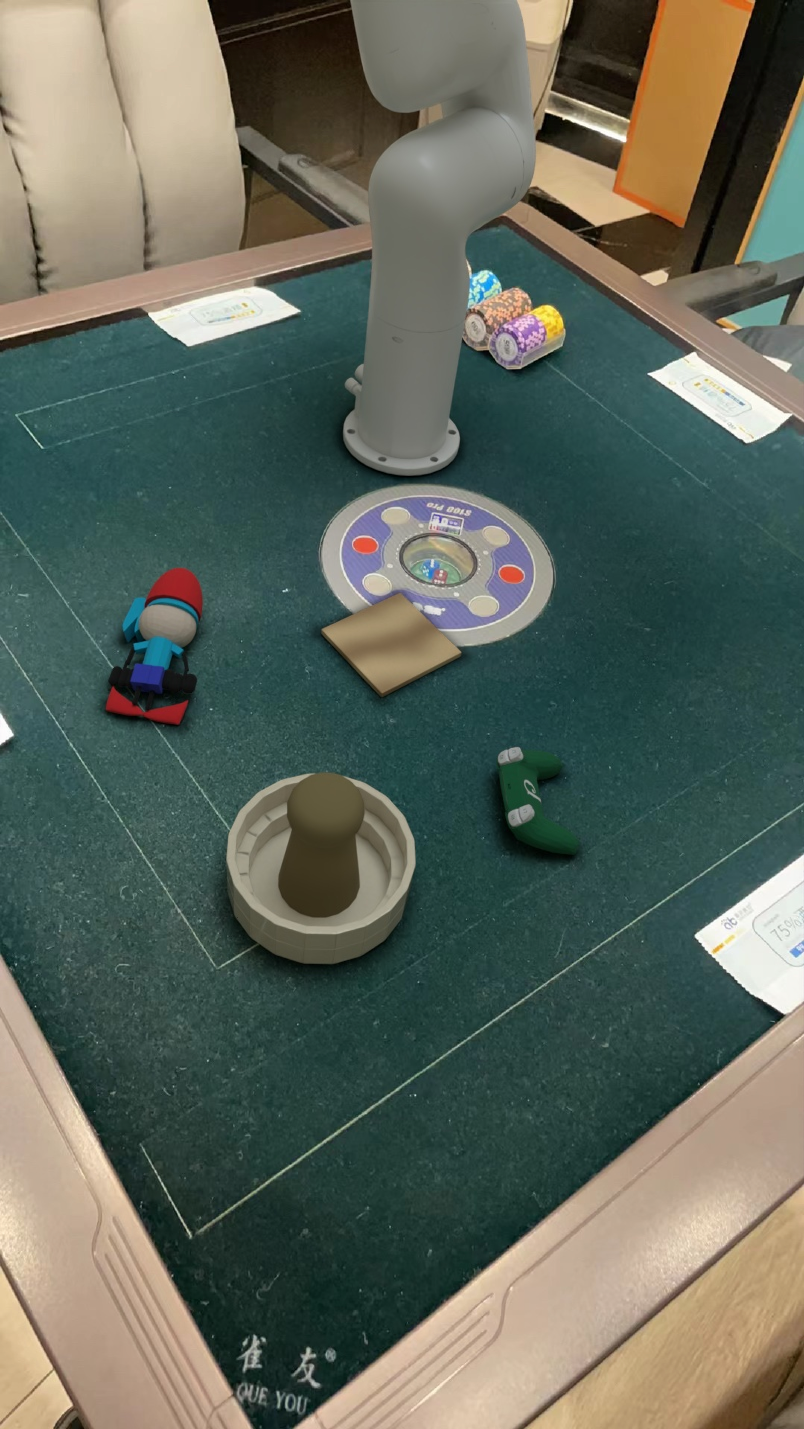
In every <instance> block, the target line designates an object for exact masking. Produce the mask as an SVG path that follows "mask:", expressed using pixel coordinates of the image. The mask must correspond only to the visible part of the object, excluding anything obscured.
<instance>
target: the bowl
mask: <svg viewBox="0 0 804 1429" xmlns="http://www.w3.org/2000/svg"><path fill="white" fill-rule="evenodd" d="M313 774H314V773H304V774H300V775H295V776H291V777H287V778H283V779H280V780H278V781H276V782H274V783H273V784H271V785H269V786H267V787H264V789H262V790H260V791H258V792H256V794H254V796H252V798H251V799H250V800H249V801H248V802H247V803H246V804H245V805H243V807H242V808H241V809H240V810H239V811H238V813H237V815H236V817H235V820H234V822H233V824H232V826H231V827H230V830H229V832H228V834H227V844H226V845H227V846H226V857H225V858H226V859H225V860H226V888H227V896H228V899H229V902H230V905H231V908H232V912H233V915H234V918H235V919H236V920H237V921H238V923H239V924H240V925H241V927H242V928H243V929H244V931H245V932H246V934H247V935H248V937H250V938H251V939H252V940H253V941H255V942H256V943H258V944H259V945H261V946H262V947H263V948H265V949H266V950H268V951H269V952H270V953H272V954H274V955H275V956H278V957H281V958H285V959H288V960H291V961H294V962H297V963H301V964H314V965H315V964H316V965H318V964H319V965H321V964H322V965H334V964H338V963H342V962H344V961H348V960H352V959H355V958H360V957H362V956H363V955H365V954H366V953H368V952H369V951H371V950H372V949H374V948H376V947H378V946H379V945H381V943H383V942H385V940H386V939H387V938H388V937H389V936H390V934H391V933H392V932H393V931H394V929H395V928H396V927H397V925H398V924H399V923H400V921H401V920H402V918H403V915H404V912H405V909H406V905H407V903H408V899H409V897H410V892H411V887H412V884H413V880H414V879H413V878H414V876H415V875H414V874H415V870H416V863H417V861H416V842H415V838H414V836H413V833H412V830H411V828H410V826H409V823H408V821H407V819H406V817H405V815H404V814H403V813H402V812H401V810H400V809H399V808H398V807H397V806H396V805H395V804H394V803H393V802H392V801H391V799H390V798H389V797H387V795H385V794H383V793H382V792H381V791H379V790H377V789H376V788H374V787H372V786H371V785H369V784H367V783H366V782H364V781H362V780H358V779H354V778H351V777H348V776H345V775H342V776H343V777H345V778H347V779H348V780H350V781H351V782H352V783H353V784H354V785H355V786H356V787H357V788H358V789H359V791H360V793H361V795H362V798H363V801H364V810H365V814H364V819H363V822H362V825H361V828H360V829H359V831H358V832H357V833H356V835H355V836H356V846H357V856H358V866H359V877H360V888H359V891H358V894H357V897H356V899H355V900H354V901H353V903H352V904H351V905H350V906H349V907H348V908H347V909H345V910H344V911H342V912H341V913H339V914H337V915H333V916H330V917H326V918H315V917H309V916H306V915H303V914H300V913H298V912H297V911H295V910H294V909H292V908H291V907H289V906H288V904H287V903H286V902H285V901H284V899H283V898H282V896H281V893H280V890H279V887H278V875H279V872H280V868H281V865H282V861H283V858H284V855H285V851H286V848H287V844H288V841H289V837H290V834H291V831H292V829H291V827H290V824H289V821H288V819H287V802H288V799H289V797H290V794H291V792H292V790H293V788H294V787H295V786H296V785H297V784H298V783H299V782H300V781H301V780H303V779H305V778H307V777H308V776H310V775H313ZM228 892H229V893H228ZM230 899H231V900H230ZM237 917H238V918H237Z"/></svg>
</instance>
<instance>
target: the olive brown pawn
mask: <svg viewBox="0 0 804 1429" xmlns="http://www.w3.org/2000/svg"><path fill="white" fill-rule="evenodd" d="M312 774H313V775H310V776H308V777H307V778H305V779H303V780H301V781H300V782H299V783H298V784H297V785H296V786H295V787H294V788H293V790H292V792H291V794H290V797H289V799H288V802H287V819H288V821H289V824H290V827H291V829H292V831H291V834H290V837H289V841H288V844H287V848H286V851H285V855H284V858H283V861H282V865H281V868H280V872H279V875H278V887H279V890H280V893H281V896H282V898H283V899H284V901H285V902H286V903H287V904H288V906H289V907H291V908H292V909H294V910H295V911H297V912H298V913H300V914H303V915H306V916H309V917H315V918H326V917H330V916H333V915H337V914H339V913H341V912H342V911H344V910H345V909H347V908H348V907H349V906H350V905H351V904H352V903H353V901H354V900H355V899H356V897H357V894H358V891H359V888H360V877H359V866H358V856H357V846H356V836H355V835H356V833H357V832H358V831H359V829H360V828H361V825H362V822H363V819H364V814H365V810H364V801H363V798H362V795H361V793H360V791H359V789H358V788H357V787H356V786H355V785H354V784H353V783H352V782H351V781H350V780H348V779H347V778H345V777H346V776H344V775H342V774H338V773H335V772H317V773H312ZM343 776H344V777H343Z"/></svg>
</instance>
